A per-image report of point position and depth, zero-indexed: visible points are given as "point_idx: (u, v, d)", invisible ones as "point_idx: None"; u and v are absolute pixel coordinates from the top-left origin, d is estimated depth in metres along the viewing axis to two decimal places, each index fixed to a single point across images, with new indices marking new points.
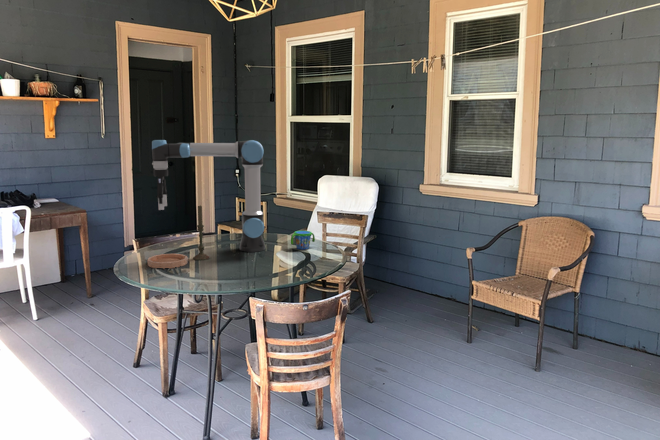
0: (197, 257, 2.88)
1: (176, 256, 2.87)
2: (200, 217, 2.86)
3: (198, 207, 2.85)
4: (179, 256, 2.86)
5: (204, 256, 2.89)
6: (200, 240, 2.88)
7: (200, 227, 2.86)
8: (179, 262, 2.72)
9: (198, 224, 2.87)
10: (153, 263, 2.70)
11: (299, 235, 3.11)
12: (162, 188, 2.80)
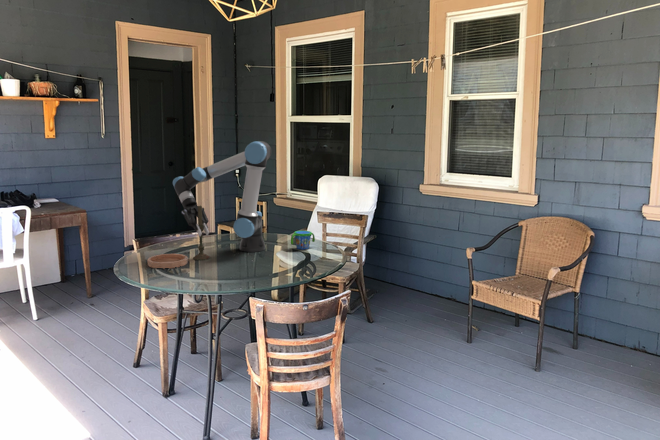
0: (197, 257, 2.88)
1: (176, 256, 2.87)
2: (200, 217, 2.86)
3: (198, 207, 2.85)
4: (179, 256, 2.86)
5: (204, 256, 2.89)
6: (200, 240, 2.88)
7: (200, 227, 2.86)
8: (179, 262, 2.72)
9: (198, 224, 2.87)
10: (153, 263, 2.70)
11: (299, 235, 3.11)
12: (191, 216, 2.88)
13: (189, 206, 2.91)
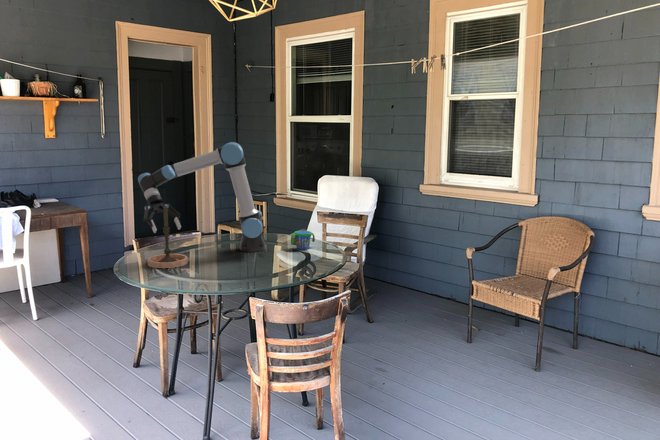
0: (163, 260, 2.76)
1: (176, 256, 2.87)
2: (166, 219, 2.74)
3: (163, 208, 2.73)
4: (179, 256, 2.86)
5: (170, 259, 2.77)
6: (166, 243, 2.76)
7: (166, 229, 2.74)
8: (179, 262, 2.72)
9: (164, 226, 2.75)
10: (153, 263, 2.70)
11: (299, 235, 3.11)
12: None
13: None
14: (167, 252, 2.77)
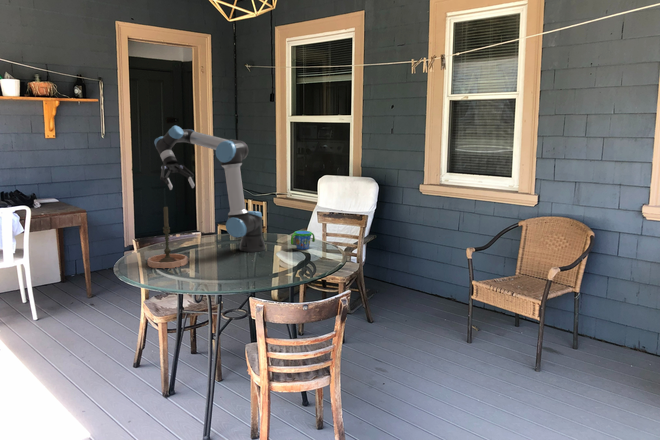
0: (163, 260, 2.76)
1: (176, 256, 2.87)
2: (166, 219, 2.74)
3: (164, 208, 2.73)
4: (179, 256, 2.86)
5: (170, 259, 2.77)
6: (166, 243, 2.76)
7: (166, 229, 2.74)
8: (179, 262, 2.72)
9: (164, 226, 2.75)
10: (153, 263, 2.70)
11: (299, 235, 3.11)
12: None
13: None
14: (167, 252, 2.77)
